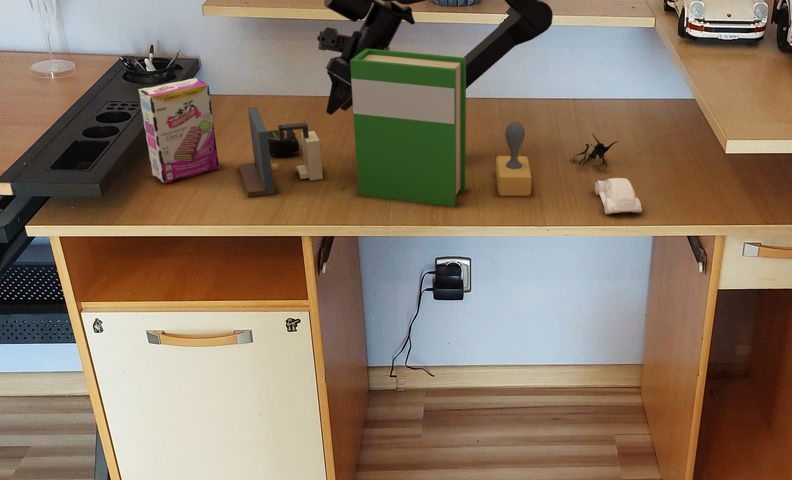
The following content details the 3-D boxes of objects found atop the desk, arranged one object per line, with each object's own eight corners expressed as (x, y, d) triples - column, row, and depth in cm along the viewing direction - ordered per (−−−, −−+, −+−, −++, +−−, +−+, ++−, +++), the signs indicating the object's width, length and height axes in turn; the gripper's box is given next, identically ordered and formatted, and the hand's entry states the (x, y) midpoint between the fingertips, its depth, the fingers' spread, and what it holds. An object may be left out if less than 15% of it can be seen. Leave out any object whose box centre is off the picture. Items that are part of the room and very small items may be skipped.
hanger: (317, 168, 170) (313, 118, 164) (322, 179, 166) (318, 127, 160) (282, 173, 167) (276, 121, 162) (286, 183, 163) (281, 131, 158)
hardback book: (465, 189, 163) (466, 57, 151) (454, 206, 157) (454, 70, 144) (372, 178, 166) (365, 48, 154) (358, 194, 160) (350, 60, 148)
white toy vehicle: (642, 217, 155) (645, 192, 153) (607, 218, 154) (610, 193, 152) (623, 188, 165) (626, 165, 163) (590, 190, 164) (592, 166, 162)
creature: (597, 180, 171) (622, 160, 175) (595, 156, 168) (621, 136, 172) (565, 168, 176) (590, 149, 180) (563, 144, 172) (589, 126, 176)
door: (269, 166, 170) (263, 106, 164) (281, 193, 160) (274, 130, 154) (238, 169, 168) (230, 109, 162) (248, 197, 158) (240, 134, 152)
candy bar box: (165, 185, 161) (149, 96, 153) (152, 176, 164) (135, 88, 156) (221, 169, 168) (209, 82, 160) (208, 161, 171) (195, 76, 163)
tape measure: (300, 157, 174) (299, 139, 172) (264, 160, 172) (262, 141, 170) (296, 144, 180) (294, 126, 178) (261, 147, 178) (259, 129, 176)
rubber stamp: (530, 196, 162) (533, 132, 155) (498, 195, 161) (500, 132, 155) (526, 174, 170) (529, 112, 164) (495, 173, 170) (497, 112, 163)
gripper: (350, 11, 167) (312, 85, 172) (321, 8, 149) (279, 91, 154) (402, 43, 168) (363, 116, 172) (379, 43, 150) (336, 125, 154)
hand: (335, 111), depth 163 cm, fingers open, 9 cm apart
